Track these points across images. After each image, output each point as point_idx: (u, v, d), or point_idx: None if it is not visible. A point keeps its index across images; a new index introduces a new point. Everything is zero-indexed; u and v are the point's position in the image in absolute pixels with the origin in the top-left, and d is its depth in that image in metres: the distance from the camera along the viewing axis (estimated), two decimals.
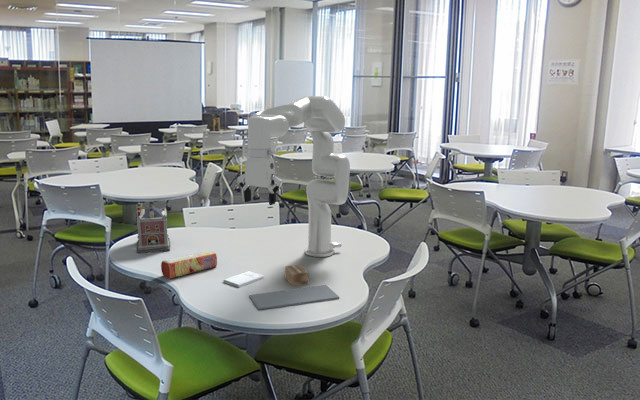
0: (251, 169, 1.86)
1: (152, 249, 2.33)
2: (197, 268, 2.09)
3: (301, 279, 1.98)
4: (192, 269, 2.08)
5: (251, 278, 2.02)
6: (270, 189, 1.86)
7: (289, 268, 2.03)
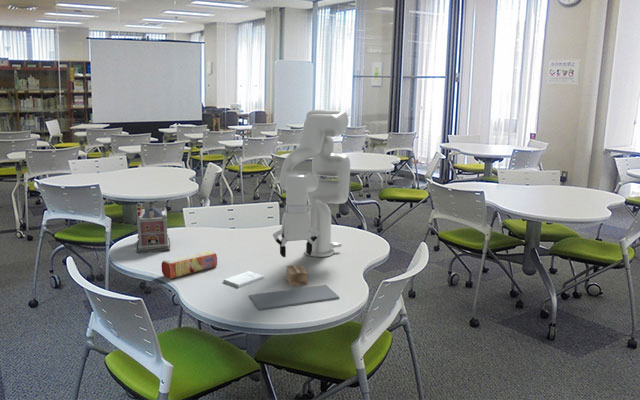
0: (293, 225, 1.95)
1: (152, 249, 2.33)
2: (197, 268, 2.09)
3: (299, 279, 1.98)
4: (193, 269, 2.08)
5: (251, 278, 2.01)
6: (310, 240, 1.99)
7: (289, 268, 2.03)
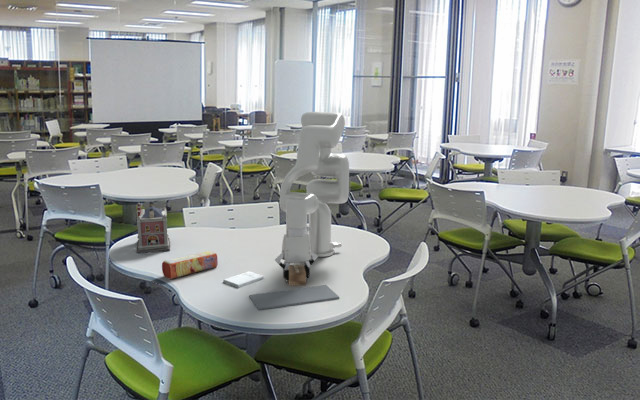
0: (294, 247, 1.97)
1: (152, 249, 2.33)
2: (198, 268, 2.09)
3: (298, 279, 1.98)
4: (193, 269, 2.08)
5: (251, 278, 2.01)
6: (308, 263, 2.01)
7: (290, 267, 2.03)
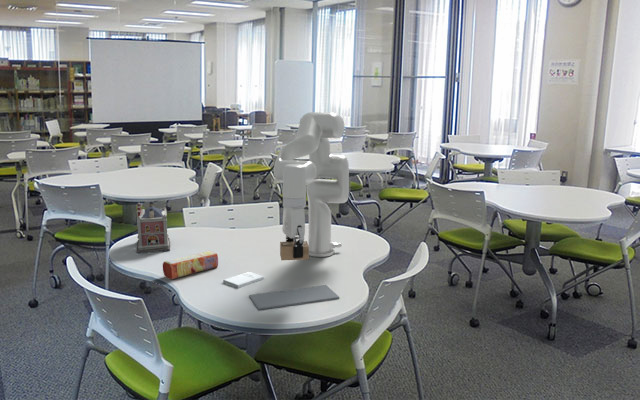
0: None
1: (152, 249, 2.33)
2: (199, 268, 2.09)
3: None
4: (194, 270, 2.07)
5: (251, 278, 2.01)
6: None
7: (289, 246, 1.81)
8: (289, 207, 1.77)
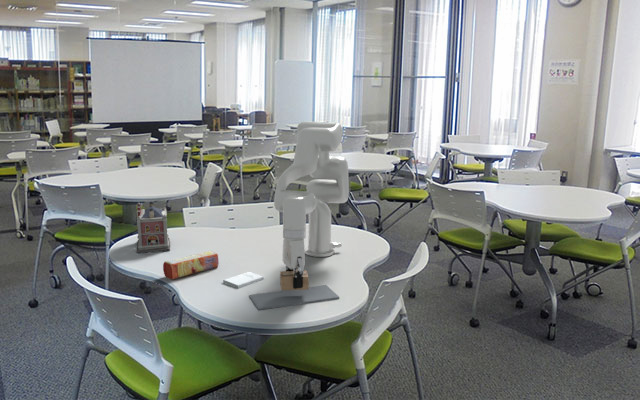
0: None
1: (152, 249, 2.33)
2: (199, 269, 2.09)
3: None
4: (194, 270, 2.07)
5: (251, 279, 2.01)
6: None
7: (288, 276, 1.83)
8: (289, 238, 1.79)
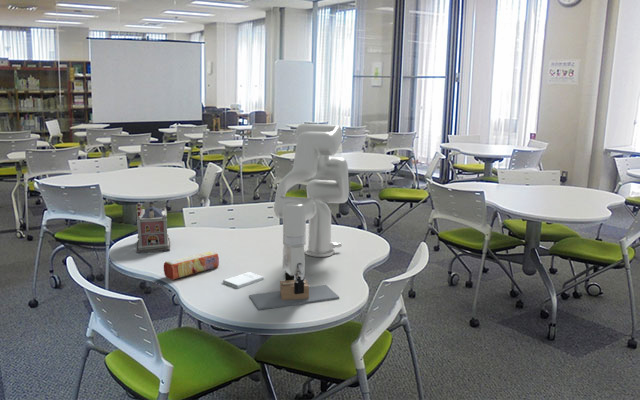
0: None
1: (152, 249, 2.33)
2: (200, 269, 2.09)
3: None
4: (195, 270, 2.07)
5: (251, 279, 2.01)
6: None
7: (289, 285, 1.84)
8: (289, 245, 1.79)
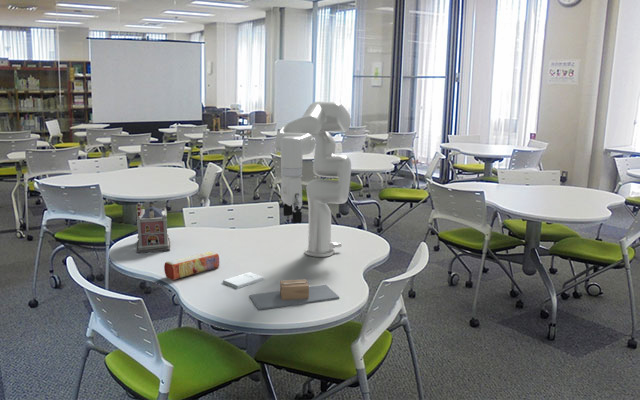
0: None
1: (152, 249, 2.33)
2: (200, 269, 2.08)
3: None
4: (196, 270, 2.07)
5: (251, 279, 2.00)
6: None
7: (289, 285, 1.84)
8: (287, 176, 1.90)
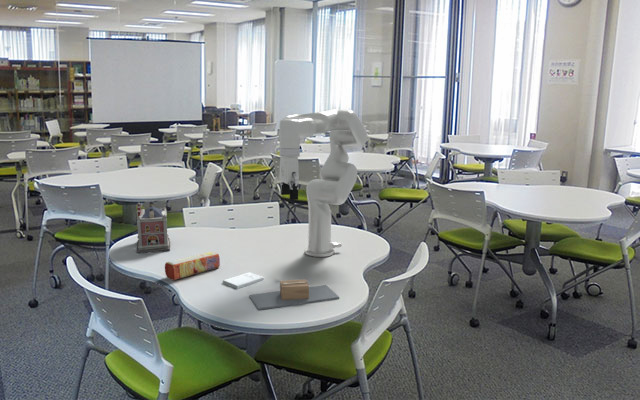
0: None
1: (152, 249, 2.33)
2: (201, 269, 2.08)
3: None
4: (196, 270, 2.07)
5: (250, 279, 2.00)
6: None
7: (289, 285, 1.84)
8: (285, 156, 2.03)
